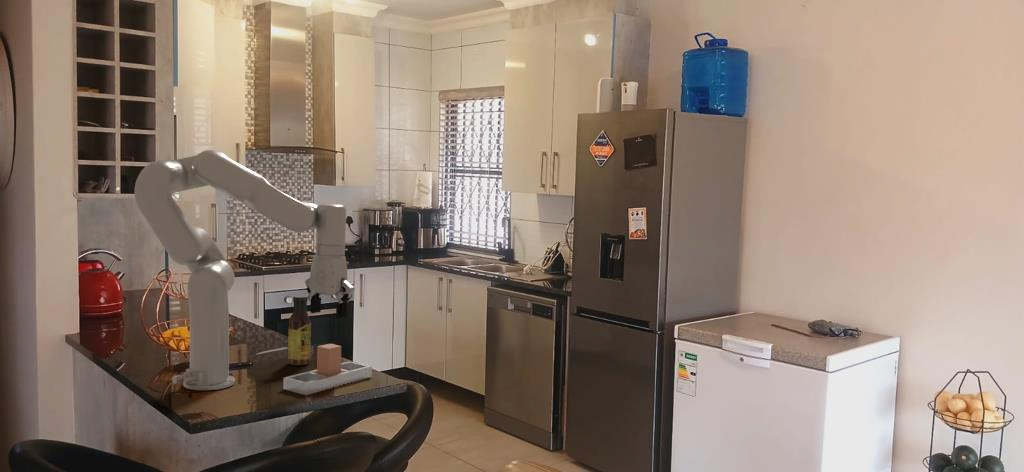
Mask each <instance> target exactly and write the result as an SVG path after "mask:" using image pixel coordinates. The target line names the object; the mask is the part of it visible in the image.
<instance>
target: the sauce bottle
mask: <svg viewBox="0 0 1024 472" xmlns="http://www.w3.org/2000/svg"><path fill="white" fill-rule="evenodd" d="M292 301H293V310H292V311H293V313H292V314H291V315H290V317H289V319H288V321H289V323H288V333H287V334H288V340H287V347H288V349H287V358H288V364H289V365H290V366H304V365H305V366H306V365H308V364H309V363H310V359H311V329H312V322H311V320H310V317H309V313H308V309H307V308H308V305H307V304H308V303H307V302H308V296H307V295H294V296H293V297H292Z"/></svg>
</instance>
